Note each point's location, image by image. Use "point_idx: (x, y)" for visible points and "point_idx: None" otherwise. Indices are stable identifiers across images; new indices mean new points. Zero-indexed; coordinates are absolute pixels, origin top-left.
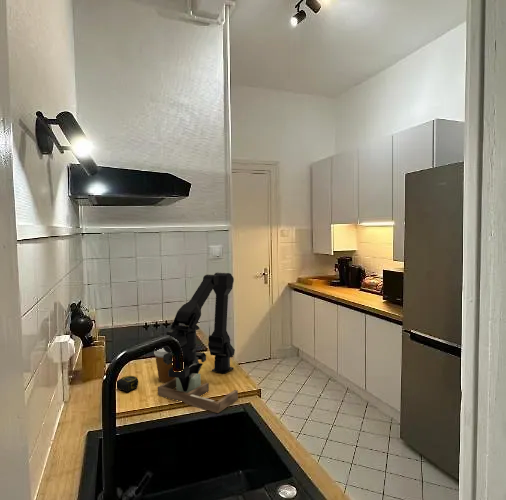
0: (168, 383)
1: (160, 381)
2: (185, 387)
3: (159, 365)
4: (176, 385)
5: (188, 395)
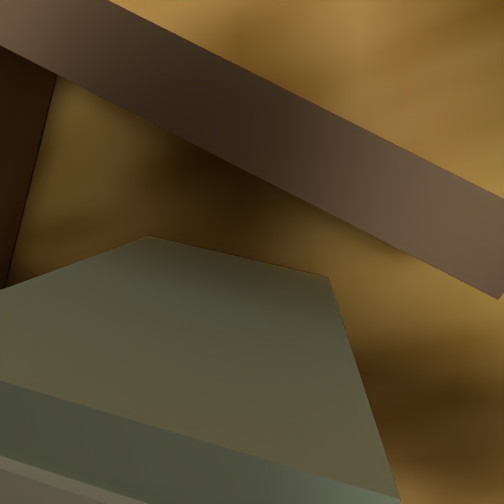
0: (68, 79)
1: None
2: None
3: None
4: (80, 263)
5: None
